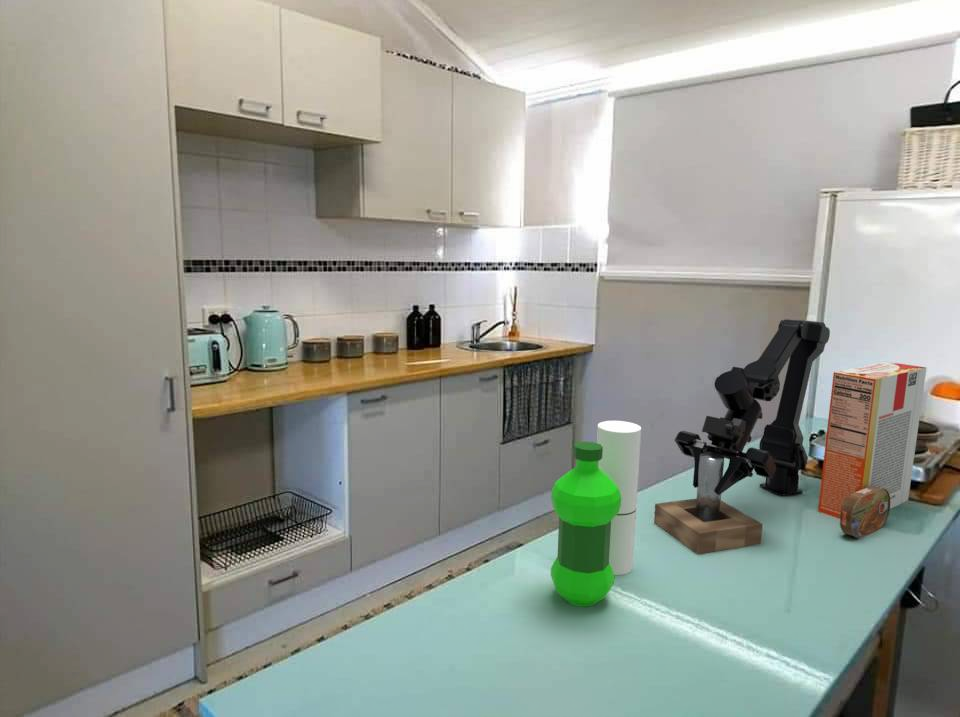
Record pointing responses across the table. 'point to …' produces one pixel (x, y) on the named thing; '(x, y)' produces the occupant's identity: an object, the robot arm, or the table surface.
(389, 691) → the table surface
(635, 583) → the table surface
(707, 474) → the grey glossy round cylinder
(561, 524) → the plastic bottle
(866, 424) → the pasta box
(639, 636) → the table surface
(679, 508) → the collar block
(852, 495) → the tin
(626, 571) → the cylindrical container
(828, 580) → the table surface
